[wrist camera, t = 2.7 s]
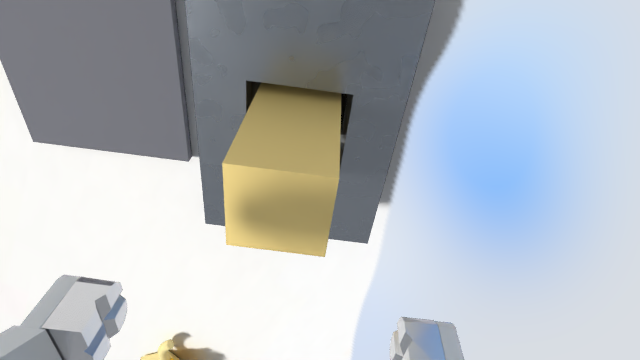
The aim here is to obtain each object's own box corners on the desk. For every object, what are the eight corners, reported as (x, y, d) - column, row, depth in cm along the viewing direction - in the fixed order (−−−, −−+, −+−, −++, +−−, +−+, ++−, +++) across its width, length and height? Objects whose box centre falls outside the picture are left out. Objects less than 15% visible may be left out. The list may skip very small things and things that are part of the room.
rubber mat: (-28, -38, 18) (-39, -36, 18) (174, -9, 19) (169, -7, 18) (39, 137, 24) (33, 141, 24) (191, 156, 25) (188, 161, 24)
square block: (270, 62, 21) (222, 163, 13) (342, 72, 21) (339, 178, 13) (268, 126, 23) (226, 244, 15) (332, 134, 23) (324, 256, 15)
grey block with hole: (211, -50, 17) (180, -40, 14) (420, -21, 18) (436, -4, 14) (222, 184, 26) (205, 223, 23) (364, 202, 26) (367, 243, 23)
